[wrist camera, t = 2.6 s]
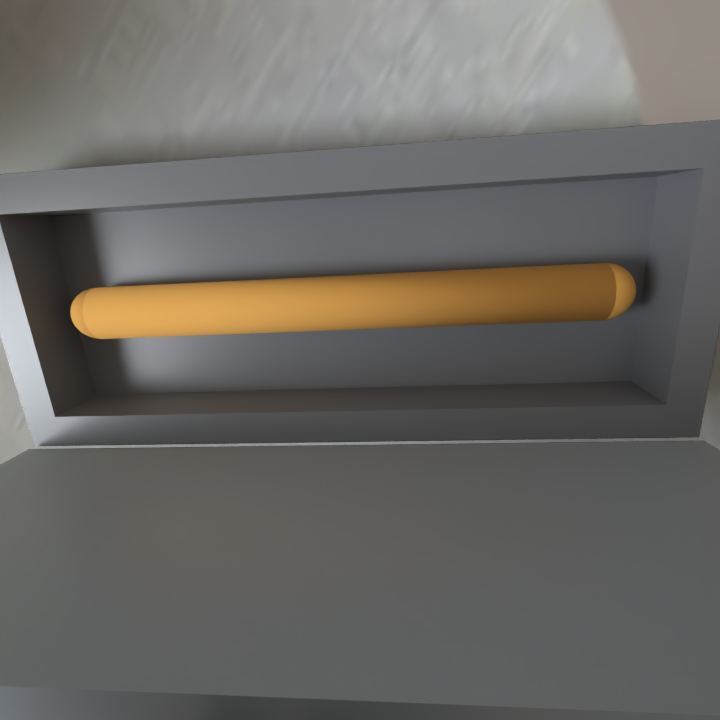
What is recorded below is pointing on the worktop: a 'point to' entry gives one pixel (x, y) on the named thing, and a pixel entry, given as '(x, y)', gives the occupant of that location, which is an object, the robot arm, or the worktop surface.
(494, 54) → the worktop surface
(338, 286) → the orange rounded rod
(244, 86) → the worktop surface
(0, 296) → the grey rectangular tray
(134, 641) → the cover
